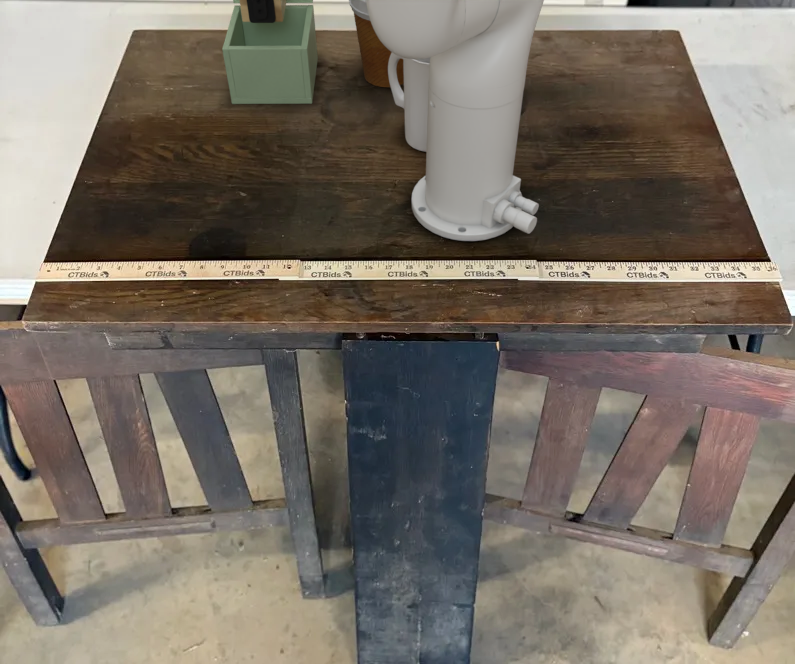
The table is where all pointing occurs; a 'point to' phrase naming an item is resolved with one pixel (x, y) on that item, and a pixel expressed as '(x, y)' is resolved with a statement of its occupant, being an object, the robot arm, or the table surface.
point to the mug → (412, 97)
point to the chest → (272, 58)
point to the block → (278, 4)
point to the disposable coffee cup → (373, 49)
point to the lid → (288, 0)
